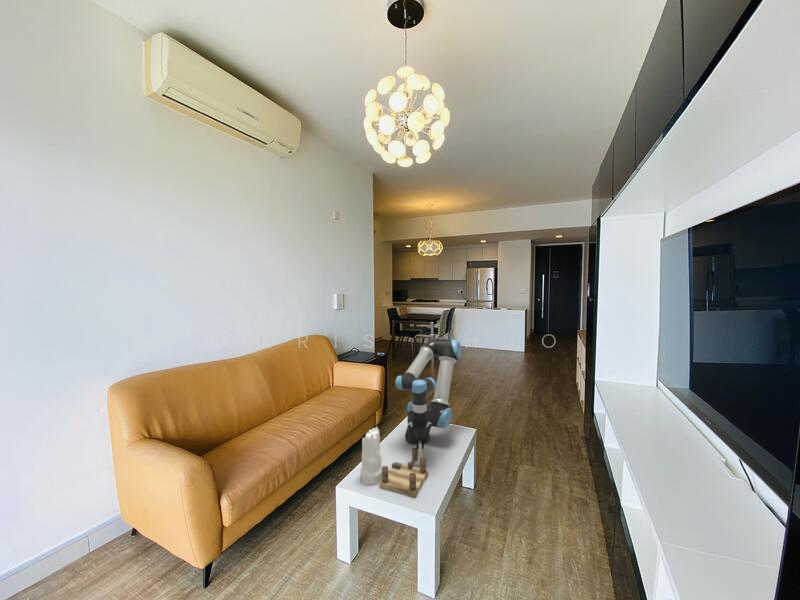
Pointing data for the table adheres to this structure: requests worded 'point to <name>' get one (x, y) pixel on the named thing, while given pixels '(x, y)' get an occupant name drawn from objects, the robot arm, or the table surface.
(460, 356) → the robot arm
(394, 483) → the stool seat
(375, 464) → the white tall rough piece
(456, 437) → the table surface
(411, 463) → the hinged leg
